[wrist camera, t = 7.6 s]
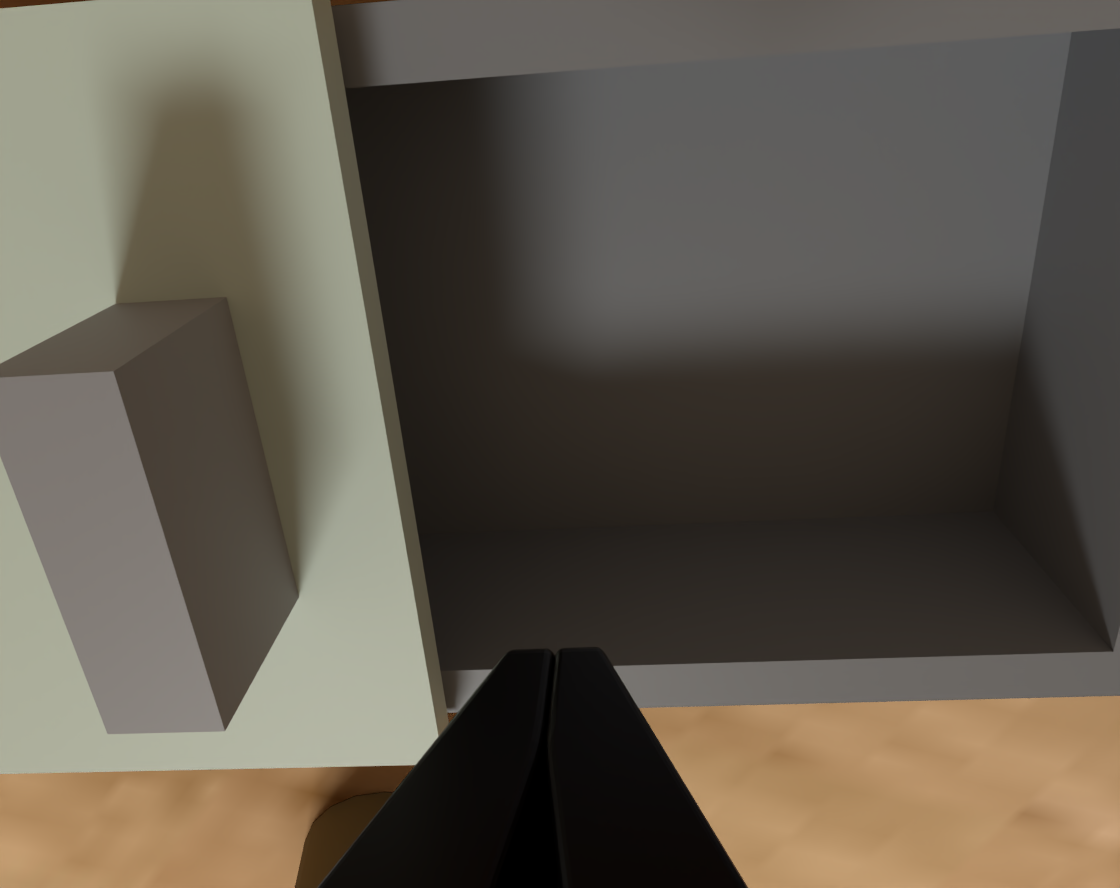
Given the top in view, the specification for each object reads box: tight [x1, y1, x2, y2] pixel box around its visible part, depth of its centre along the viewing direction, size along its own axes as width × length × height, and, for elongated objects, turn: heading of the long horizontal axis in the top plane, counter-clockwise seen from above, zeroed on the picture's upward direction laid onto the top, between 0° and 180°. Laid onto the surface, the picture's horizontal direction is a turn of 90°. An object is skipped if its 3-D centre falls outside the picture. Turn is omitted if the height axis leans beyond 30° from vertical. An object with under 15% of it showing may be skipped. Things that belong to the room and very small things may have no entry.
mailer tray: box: [331, 0, 1120, 713], centre depth 16 cm, size 20×12×6 cm, turn 94°
